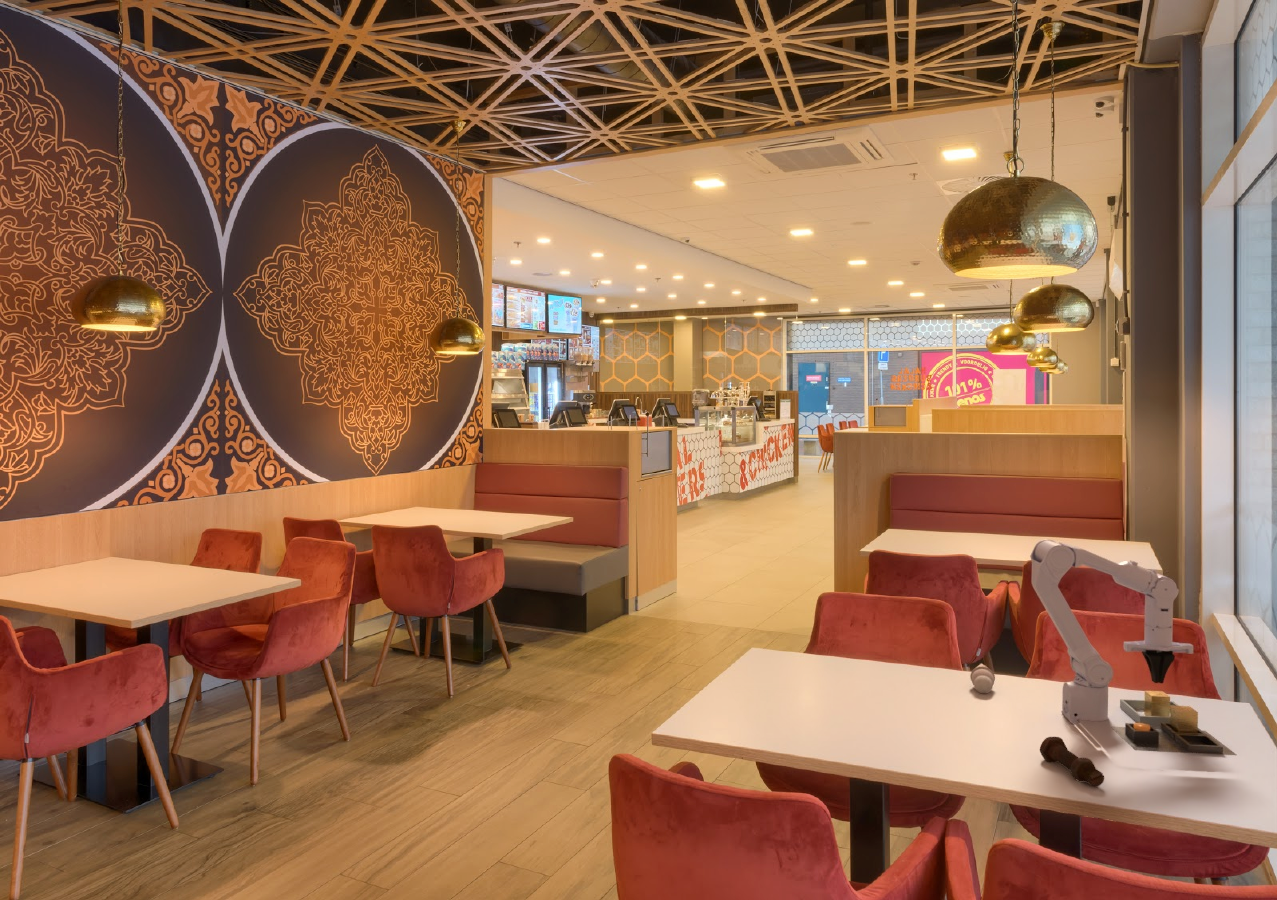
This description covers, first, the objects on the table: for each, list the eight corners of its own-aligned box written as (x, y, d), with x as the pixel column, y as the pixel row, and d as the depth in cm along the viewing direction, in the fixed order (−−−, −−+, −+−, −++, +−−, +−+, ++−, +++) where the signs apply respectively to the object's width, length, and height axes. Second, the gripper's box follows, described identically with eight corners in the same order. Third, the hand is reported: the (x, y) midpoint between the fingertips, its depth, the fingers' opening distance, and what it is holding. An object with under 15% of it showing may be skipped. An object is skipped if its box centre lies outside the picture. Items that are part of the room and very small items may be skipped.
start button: (1136, 738, 193) (1137, 727, 193) (1131, 733, 196) (1131, 722, 196) (1152, 739, 192) (1152, 728, 192) (1146, 734, 195) (1146, 723, 195)
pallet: (1134, 754, 188) (1135, 738, 188) (1110, 730, 202) (1110, 715, 201) (1236, 759, 185) (1237, 743, 184) (1205, 734, 198) (1205, 719, 198)
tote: (1139, 728, 202) (1140, 716, 202) (1119, 711, 214) (1120, 699, 214) (1196, 731, 201) (1196, 718, 200) (1172, 713, 212) (1173, 701, 212)
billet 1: (1151, 721, 206) (1151, 696, 205) (1144, 715, 210) (1144, 690, 209) (1169, 721, 205) (1170, 696, 205) (1162, 715, 209) (1162, 691, 209)
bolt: (1093, 798, 171) (1047, 765, 186) (1114, 784, 172) (1066, 752, 187) (1081, 774, 170) (1035, 743, 185) (1102, 760, 171) (1054, 730, 186)
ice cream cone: (982, 677, 241) (985, 703, 227) (964, 663, 242) (965, 688, 228) (998, 663, 239) (1001, 688, 225) (979, 648, 240) (982, 673, 226)
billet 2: (1177, 737, 194) (1178, 711, 194) (1169, 731, 198) (1170, 705, 198) (1197, 738, 194) (1197, 712, 193) (1189, 732, 198) (1189, 706, 197)
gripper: (1132, 628, 204) (1131, 685, 204) (1200, 630, 201) (1198, 688, 202) (1120, 621, 210) (1119, 676, 211) (1186, 622, 208) (1184, 679, 209)
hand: (1157, 681), depth 207 cm, fingers closed
